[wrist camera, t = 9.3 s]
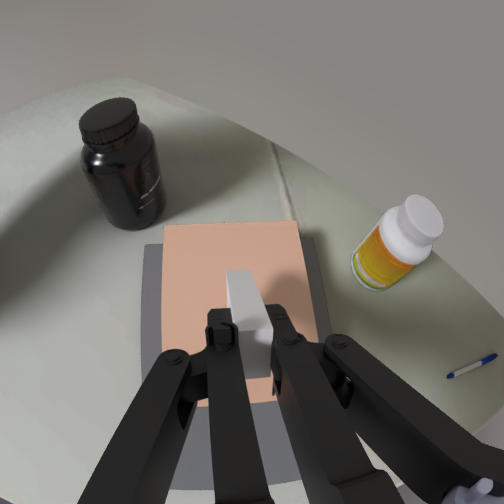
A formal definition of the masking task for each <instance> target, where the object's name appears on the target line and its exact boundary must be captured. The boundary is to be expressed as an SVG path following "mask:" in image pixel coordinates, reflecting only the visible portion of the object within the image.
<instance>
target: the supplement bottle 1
mask: <svg viewBox="0 0 504 504" xmlns="http://www.w3.org/2000/svg"><path fill="white" fill-rule="evenodd" d="M79 129H80V132H81V134H82V140H83V142H84V146H83V148H82V152H81V158H80V161H81V166H82V169H83V171H84V173H85V175H86V177H87V180H88V182H89V184H90V186H91V188H92V190H93V192H94V194H95V196H96V198H97V200H98V202H99V204H100V206H101V208H102V210H103V212H104V214H105V215H106V217H107V219H108V220H109V222H110V223H111V224H112V225H113V226H115V227H117V228H119V229H122V230H137V229H141V228H143V227H146V226H148V225H149V224H151V223H152V222H153V221H155V220H156V219H157V218H158V217H159V215H160V214H161V212H162V211H163V208H164V206H165V201H166V196H165V190H164V185H163V180H162V175H161V170H160V165H159V160H158V155H157V149H156V144H155V139H154V135H153V133H152V131H151V130H150V129H149V128H148V127H147V126H146V125H145V124H143V123H141V122H140V120H139V116H138V114H137V108H136V104H135V103H134V101H132V99H129V98H125V97H123V98H121V97H119V98H113V99H108V100H105V101H103V102H100V103H98V104H96V105H94V106H93V107H91V108H90V109H89V110H87V111H86V112H85V113H84V114H83V116H82V117H81V119H80V120H79Z"/></svg>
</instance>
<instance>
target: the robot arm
mask: <svg viewBox="0 0 504 504" xmlns="http://www.w3.org/2000/svg"><path fill="white" fill-rule="evenodd" d="M226 283H227V308H216V309H211V310H210V311H209V312H208V314H207V326H206V329H205V336H206V345H207V346H206V347H205V348H204V349H203V350H202V351H200V352H198V353H195V354H192V355H189V354H188V353H187V352H186V351H184V350H181V349H169V350H166V351H164V352H162V353H161V354H160V355H159V356H158V358H157V359H156V361H155V363H154V365H153V366H152V368H151V370H150V371H149V373H148V375H147V377H146V378H145V380H144V382H143V383H142V385H141V387H140V389H139V390H138V392H137V394H136V396H135V397H134V399H133V401H132V403H131V404H130V406H129V408H128V410H127V412H126V413H125V415H124V417H123V419H122V420H121V422H120V424H119V426H118V428H117V429H116V431H115V433H114V435H113V437H112V439H111V440H110V442H109V444H108V446H107V448H106V450H105V451H104V453H103V455H102V457H101V459H100V461H99V463H98V464H97V466H96V468H95V470H94V472H93V474H92V476H91V478H90V480H89V482H88V483H87V485H86V487H85V489H84V491H83V493H82V495H81V497H80V499H79V501H78V503H77V504H165V500H166V497H167V494H168V491H169V488H170V485H171V482H172V479H173V476H174V473H175V470H176V467H177V464H178V461H179V458H180V455H181V452H182V449H183V446H184V443H185V440H186V437H187V434H188V431H189V428H190V425H191V422H192V419H193V416H194V413H195V410H196V407H197V404H198V401H199V400H203V399H206V398H208V406H209V426H210V442H211V456H212V469H213V481H214V491H215V504H275V503H274V500H273V499H272V498H271V496H270V492H269V488H268V484H267V480H266V475H265V471H264V467H263V462H262V458H261V453H260V449H259V444H258V439H257V435H256V430H255V425H254V420H253V415H252V410H251V406H250V401H249V396H248V390H247V385H246V380H245V379H256V378H265V377H271V370H272V373H273V387H272V396H275V394H276V397H277V400H278V404H279V407H280V410H281V414H282V417H283V420H284V423H285V427H286V430H287V433H288V437H289V440H290V443H291V446H292V450H293V453H294V456H295V459H296V462H297V466H298V469H299V472H300V475H301V478H302V481H303V485H304V488H305V491H306V494H307V497H308V500H309V503H310V504H404V501H403V499H402V498H401V496H400V494H399V492H398V490H397V488H396V486H395V485H394V483H393V481H392V479H391V477H390V476H389V475H388V473H387V472H385V471H384V470H379V469H376V468H374V467H373V465H372V463H371V461H370V459H369V457H368V456H367V454H366V452H365V450H364V448H363V446H362V444H361V442H360V440H359V438H358V436H357V434H358V435H359V436H360V437H361V438H362V439H363V440H364V442H365V443H366V444H367V445H368V446H369V447H370V448H371V449H372V450H373V451H374V452H375V453H376V454H377V455H378V456H379V458H380V459H381V460H382V461H383V462H384V463H385V464H386V465H387V466H388V467H389V468H390V469H391V470H392V471H393V472H394V473H395V474H396V475H397V476H398V477H399V478H400V479H401V480H402V481H403V482H404V483H405V484H406V485H407V486H408V487H409V488H410V489H411V490H412V491H413V492H414V493H415V494H416V495H417V496H418V497H419V498H421V499H422V500H423V501H425V502H426V503H428V504H504V450H501V449H498V448H495V447H492V446H489V445H486V444H483V443H481V442H480V441H479V440H477V439H476V438H475V437H474V436H472V435H471V434H470V433H469V432H467V431H466V430H465V429H464V428H462V427H461V426H460V425H459V424H457V423H456V422H455V421H454V420H452V419H451V418H450V417H449V416H447V415H446V414H445V413H444V412H442V411H441V410H440V409H439V408H437V407H436V406H435V405H434V404H432V403H431V402H430V401H429V400H427V399H426V398H425V397H424V396H422V395H421V394H420V393H419V392H417V391H416V390H415V389H414V388H412V387H411V386H410V385H409V384H407V383H406V382H405V381H404V380H403V379H401V378H400V377H399V376H398V375H396V374H395V373H394V372H393V371H391V370H390V369H389V368H388V367H386V366H385V365H384V364H383V363H381V362H380V361H379V360H378V359H377V358H375V357H374V356H373V355H372V354H370V353H369V352H368V351H367V350H365V349H364V348H363V347H362V346H360V345H359V344H358V343H357V342H356V341H354V340H353V339H352V338H350V337H348V336H346V335H343V334H334V335H330V336H328V337H327V338H326V339H325V342H324V343H315V342H309V341H307V339H306V338H305V336H304V335H303V334H301V333H299V332H296V330H295V328H294V326H293V324H292V322H291V320H290V318H289V316H288V315H287V312H286V310H285V308H284V307H282V306H281V305H280V304H269V305H264V303H263V300H262V298H261V295H260V293H259V290H258V287H257V285H256V282H255V279H254V277H253V274H252V272H251V269H245V270H226ZM347 377H348V378H349V379H350V380H351V381H350V380H349V379H348V378H347ZM356 433H357V434H356Z"/></svg>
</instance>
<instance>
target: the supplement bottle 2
mask: <svg viewBox="0 0 504 504" xmlns="http://www.w3.org/2000/svg"><path fill="white" fill-rule="evenodd" d="M443 229H444V223H443V219H442V216H441V214H440V212H439V210H438V209H437V208H436V206H435V205H434V204H433V203H432V202H431V201H430V200H428V199H427V198H425V197H423V196H421V195H416V194H414V195H410V196H409V197H407V199H406V200H405V201H404V202H403V203H402V204H401V206H396V207H392V208H390V209H389V210H388V211H386V212H385V213H384V214H383V215H382V217H381V218H380V219H379V220H378V222H377V223H376V224H375V225H374V227H373V228H372V229H371V230H370V232H369V233H368V234H367V235H366V236H365V238H364V239H363V240H362V241H361V242H360V244H359V245H358V246H357V247H356V249H355V250H354V252H353V254H352V258H351V266H352V270H353V273H354V275H355V277H356V279H357V280H358V281H359V282H360V283H361V284H362V285H363V286H364V287H366V288H368V289H370V290H374V291H382V290H385V289H387V288H389V287H391V286H392V285H393V284H394V283H396V282H397V281H398V280H400V279H401V278H402V277H404V276H405V275H406V274H408V273H409V272H410V271H411V270H413V269H414V268H415V267H417V266H418V265H419V264H420V263H422V262H423V261H424V260H425V259H426V258H427V257H428V256H429V254H430V252H431V250H432V244H433V242H434V241H435V240H436V239H437V238H438V237H439V236H440V235H441V234H442V232H443Z"/></svg>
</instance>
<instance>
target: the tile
mask: <svg viewBox="0 0 504 504" xmlns="http://www.w3.org/2000/svg"><path fill="white" fill-rule="evenodd" d="M245 269H251V272H252V274H253V277H254V279H255V282H256V285H257V287H258V290H259V293H260V295H261V298H262V300H263V303H264V305H269V304H280V305H281V306H282V307H284V308H285V310H286V312H287V315H288V316H289V318H290V320H291V322H292V324H293V326H294V328H295V330H296V332H299V333H301V334H303V335H304V336H305V338H306V339H307V341H309V342H315V343H319V341H318V335H317V329H316V323H315V317H314V311H313V305H312V299H311V294H310V288H309V283H308V277H307V272H306V267H305V262H304V257H303V252H302V247H301V242H300V237H299V232H298V227H297V223H296V221H268V222H236V223H210V224H188V225H169V226H164V241H163V260H162V294H161V331H162V352H164V351H166V350H169V349H181V350H184V351H186V352H187V353H188V354H189V355H192V354H195V353H198V352H200V351H202V350H203V349H204V348H205V347H206V346H207V345H206V336H205V329H206V326H207V314H208V312H209V311H210V310H211V309H216V308H227V283H226V270H245ZM245 380H246V385H247V390H248V396H249V401H250V403H260V402H268V401H276V400H277V397H276V394H275V396H272V387H273V373H272V370H271V377H265V378H256V379H245ZM204 406H208V398H206V399H203V400H199V401H198V404H197V407H204Z"/></svg>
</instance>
